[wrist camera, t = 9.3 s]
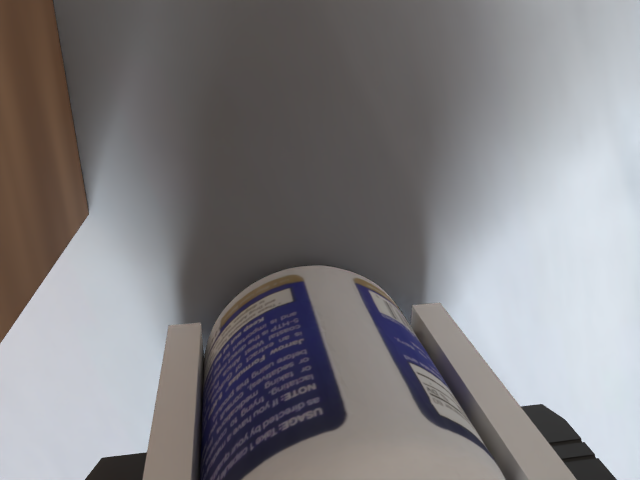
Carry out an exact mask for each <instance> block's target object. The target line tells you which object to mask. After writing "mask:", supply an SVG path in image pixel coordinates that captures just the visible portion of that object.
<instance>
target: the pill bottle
mask: <svg viewBox="0 0 640 480" xmlns="http://www.w3.org/2000/svg"><path fill="white" fill-rule="evenodd" d="M200 480H506V479H505V478H504V476H503V474H502V472H501V470H500V468H499V467H498V465H497V463H496V461H495V459H494V458H493V456H492V455H491V454H490V452H489V451H488V449H487V447H486V446H485V444H484V443H483V441H482V439H481V438H480V436H479V435H478V433H477V431H476V429H475V428H474V427H473V425H472V424H471V422H470V421H469V419H468V417H467V416H466V414H465V412H464V411H463V409H462V408H461V406H460V405H459V403H458V401H457V400H456V398H455V397H454V395H453V394H452V392H451V390H450V389H449V387H448V385H447V384H446V382H445V381H444V379H443V377H442V376H441V374H440V373H439V371H438V369H437V368H436V366H435V365H434V363H433V362H432V360H431V358H430V357H429V355H428V353H427V352H426V350H425V348H424V347H423V345H422V344H421V342H420V341H419V339H418V338H417V336H416V334H415V333H414V331H413V329H412V328H411V326H410V325H409V323H408V322H407V320H406V318H405V317H404V315H403V314H402V312H401V311H400V309H399V308H398V307H397V305H396V304H395V302H394V301H393V300H392V298H391V297H390V296H389V295H388V294H387V293H386V292H385V291H384V290H383V289H382V288H380V287H379V286H378V285H377V284H375V283H374V282H372V281H370V280H369V279H367V278H365V277H363V276H361V275H359V274H356V273H353V272H351V271H348V270H344V269H340V268H336V267H330V266H320V265H315V266H300V267H294V268H289V269H285V270H282V271H279V272H276V273H273V274H271V275H268V276H266V277H264V278H262V279H260V280H258V281H257V282H255V283H253V284H251V285H250V286H249V287H247V288H246V289H244V290H243V291H242V292H241V293H239V294H238V295H237V296H236V297H235V298H234V299H233V300H232V301H231V302H230V303H229V304H228V305H227V306H226V308H225V309H224V310H223V311H222V313H221V314H220V316H219V317H218V319H217V320H216V322H215V324H214V326H213V328H212V330H211V333H210V336H209V338H208V342H207V345H206V350H205V356H204V368H203V399H202V429H201V457H200Z"/></svg>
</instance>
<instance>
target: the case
mask: <svg viewBox="0 0 640 480" xmlns="http://www.w3.org/2000/svg"><path fill="white" fill-rule="evenodd" d="M88 215H89V212H88V206H87V200H86V194H85V188H84V183H83V177H82V171H81V165H80V159H79V153H78V147H77V141H76V135H75V129H74V123H73V117H72V112H71V106H70V100H69V94H68V88H67V82H66V76H65V70H64V64H63V58H62V52H61V46H60V41H59V35H58V29H57V23H56V17H55V11H54V5H53V0H0V343H1V342H2V340H3V339H4V337H5V336H6V334H7V333H8V331H9V330H10V329H11V327H12V326H13V324H14V323H15V321H16V320H17V318H18V317H19V315H20V314H21V312H22V311H23V310H24V308H25V307H26V305H27V304H28V302H29V301H30V299H31V298H32V296H33V295H34V293H35V292H36V291H37V289H38V288H39V286H40V285H41V283H42V282H43V280H44V279H45V277H46V276H47V275H48V273H49V272H50V270H51V269H52V267H53V266H54V264H55V263H56V261H57V260H58V258H59V257H60V256H61V254H62V253H63V251H64V250H65V248H66V247H67V245H68V244H69V242H70V241H71V239H72V238H73V237H74V235H75V234H76V232H77V231H78V229H79V228H80V226H81V225H82V223H83V222H84V221H85V219H86V218H87V216H88Z"/></svg>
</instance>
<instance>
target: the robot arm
mask: <svg viewBox="0 0 640 480" xmlns="http://www.w3.org/2000/svg"><path fill="white" fill-rule="evenodd" d="M410 326H411V328H412V329H413V331H414V333H415V334H416V336H417V338H418V339H419V341H420V342H421V344H422V345H423V347H424V348H425V350H426V352H427V353H428V355H429V357H430V358H431V360H432V362H433V363H434V365H435V366H436V368H437V369H438V371H439V373H440V374H441V376H442V377H443V379H444V381H445V382H446V384H447V385H448V387H449V389H450V390H451V392H452V394H453V395H454V397H455V398H456V400H457V401H458V403H459V405H460V406H461V408H462V409H463V411H464V412H465V414H466V416H467V417H468V419H469V421H470V422H471V424H472V425H473V427H474V428H475V429H476V431H477V433H478V435H479V436H480V438H481V439H482V441H483V443H484V444H485V446H486V447H487V449H488V451H489V452H490V454H491V455H492V456H493V458H494V459H495V461H496V463H497V465H498V467H499V468H500V470H501V472H502V474H503V476H504V478H505V479H506V480H616V478H615V477H614V476H613V475H612V474H611V473H610V471H609V470H608V469H607V468H606V467H605V466H604V464H603V463H602V462H601V461H600V460H599V459H598V458H597V459H596V458H595V454H594V453H593V452H592V450H591V449H590V448H589V447H588V446H587V445H586V443H585V442H582V441H581V438H580V437H579V435H578V434H577V433H576V432H575V431H574V430H573V428H572V427H571V426H570V425H569V424H568V423H567V421H566V420H565V419H563V418H562V417H560V416H559V415H557V414H556V413H554V412H553V411H551V410H550V409H548V408H547V407H545V406H544V405H542V404H539V405H530V406H522V407H520V405H519V404H518V403H517V402H516V400H515V399H514V398H513V396H512V395H511V394H510V393H509V391H508V390H507V389H506V387H505V386H504V385H503V383H502V382H501V381H500V380H499V378H498V377H497V376H496V374H495V373H494V372H493V371H492V369H491V368H490V367H489V365H488V364H487V363H486V361H485V360H484V359H483V358H482V356H481V355H480V354H479V352H478V351H477V350H476V349H475V347H474V346H473V345H472V343H471V342H470V341H469V340H468V338H467V337H466V336H465V334H464V333H463V332H462V330H461V329H460V328H459V327H458V325H457V324H456V323H455V321H454V320H453V319H452V318H451V316H450V315H449V314H448V312H447V311H446V310H445V308H444V307H443V306H442V305H441V303H430V304H418V305H412V312H411V325H410ZM203 368H204V350H203V339H202V328H201V323H190V324H178V325H169V326H168V332H167V338H166V344H165V350H164V356H163V362H162V368H161V373H160V379H159V385H158V391H157V397H156V403H155V409H154V415H153V421H152V427H151V432H150V438H149V444H148V450H147V453H139V454H130V455H122V456H113V457H105V458H101V460H100V461H99V462H98V464H97V465H96V466H95V467H94V469H93V470H92V471H91V473H90V474H89V475H88V476H87V478H86V479H85V480H200V457H201V429H202V399H203Z"/></svg>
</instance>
